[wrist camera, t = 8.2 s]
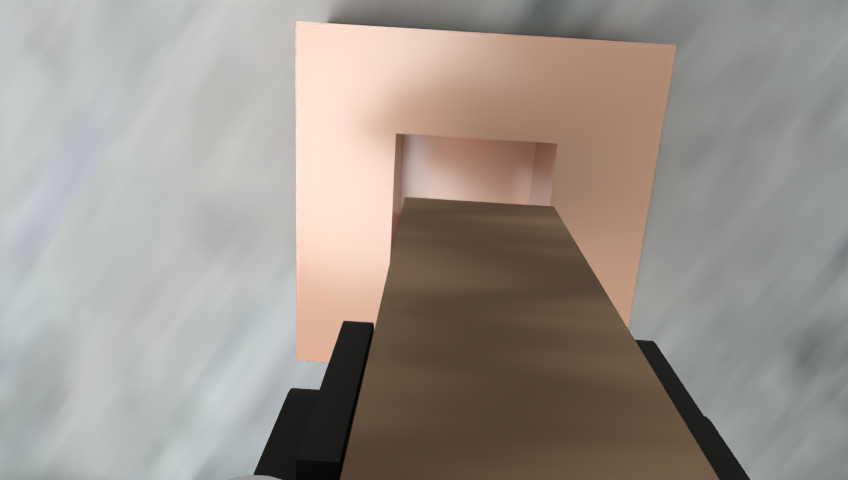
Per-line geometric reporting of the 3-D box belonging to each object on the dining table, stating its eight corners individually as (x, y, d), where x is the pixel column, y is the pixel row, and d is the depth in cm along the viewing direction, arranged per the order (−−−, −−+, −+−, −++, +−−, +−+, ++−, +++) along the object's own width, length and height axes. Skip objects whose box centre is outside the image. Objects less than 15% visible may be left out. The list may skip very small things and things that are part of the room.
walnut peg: (553, 206, 17) (765, 556, 6) (536, 340, 19) (684, 841, 7) (404, 196, 17) (329, 525, 6) (398, 331, 19) (325, 813, 7)
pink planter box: (629, 41, 28) (677, 44, 22) (587, 318, 32) (618, 382, 26) (326, 23, 28) (295, 21, 22) (323, 301, 32) (296, 360, 26)
